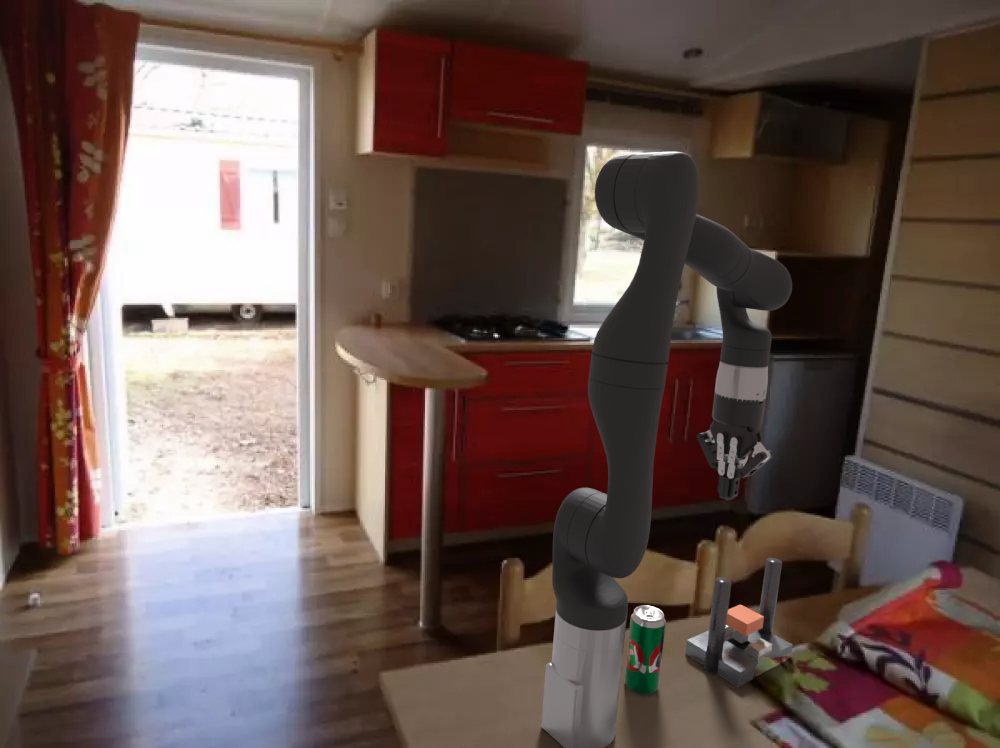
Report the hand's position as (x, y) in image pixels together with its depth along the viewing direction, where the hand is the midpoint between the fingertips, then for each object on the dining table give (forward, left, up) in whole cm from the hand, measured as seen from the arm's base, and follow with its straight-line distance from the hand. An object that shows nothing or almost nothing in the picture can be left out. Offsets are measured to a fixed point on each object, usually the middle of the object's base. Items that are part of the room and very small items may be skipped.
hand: (727, 498), depth 113 cm
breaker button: (+1, -5, -23) cm, 23 cm away
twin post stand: (+1, -5, -26) cm, 26 cm away
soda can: (-18, -2, -26) cm, 32 cm away
